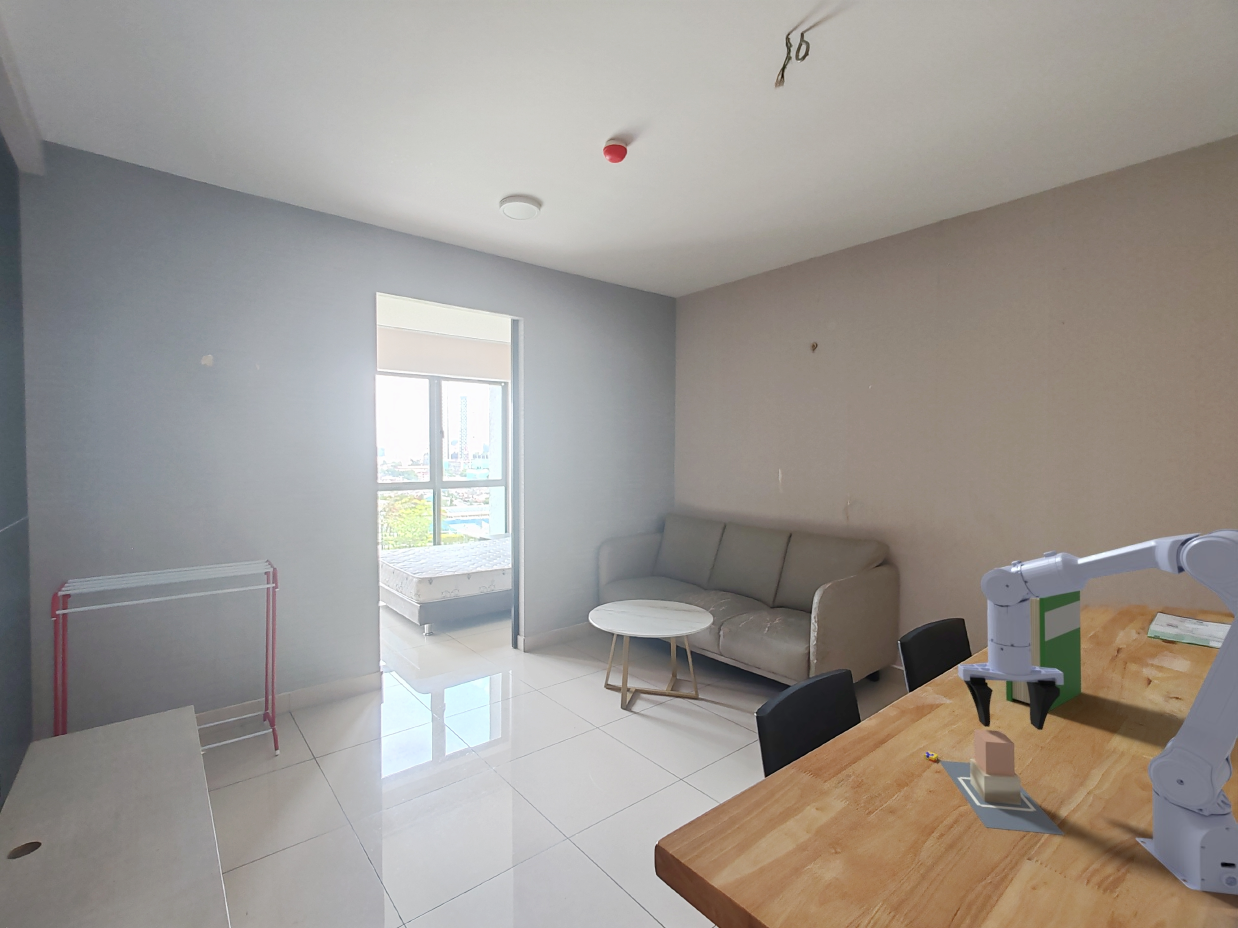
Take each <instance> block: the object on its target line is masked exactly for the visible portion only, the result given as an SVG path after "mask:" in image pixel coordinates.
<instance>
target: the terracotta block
mask: <svg viewBox="0 0 1238 928" xmlns="http://www.w3.org/2000/svg"><path fill="white" fill-rule="evenodd" d="M973 734H974V735H973V736H974V737H973V738H974V739H973V741H974V742H973V744H974V745H973V748H974V749H973V750H974V754H973V755H974V759H975V761H976V762H977V764H978V765H979V766H980V767H981V768H982V770H983V771H984V772H985V773H986V774H996V775H1008V776H1015V773H1016V772H1015V767H1016V766H1015V742H1014V741H1012V739H1010V738H1009V737H1008V736H1007V735H1006V734H1005V733H1004V732H1003V731H1002V730H990V729H989V730H988V729H974V730H973Z"/></svg>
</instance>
